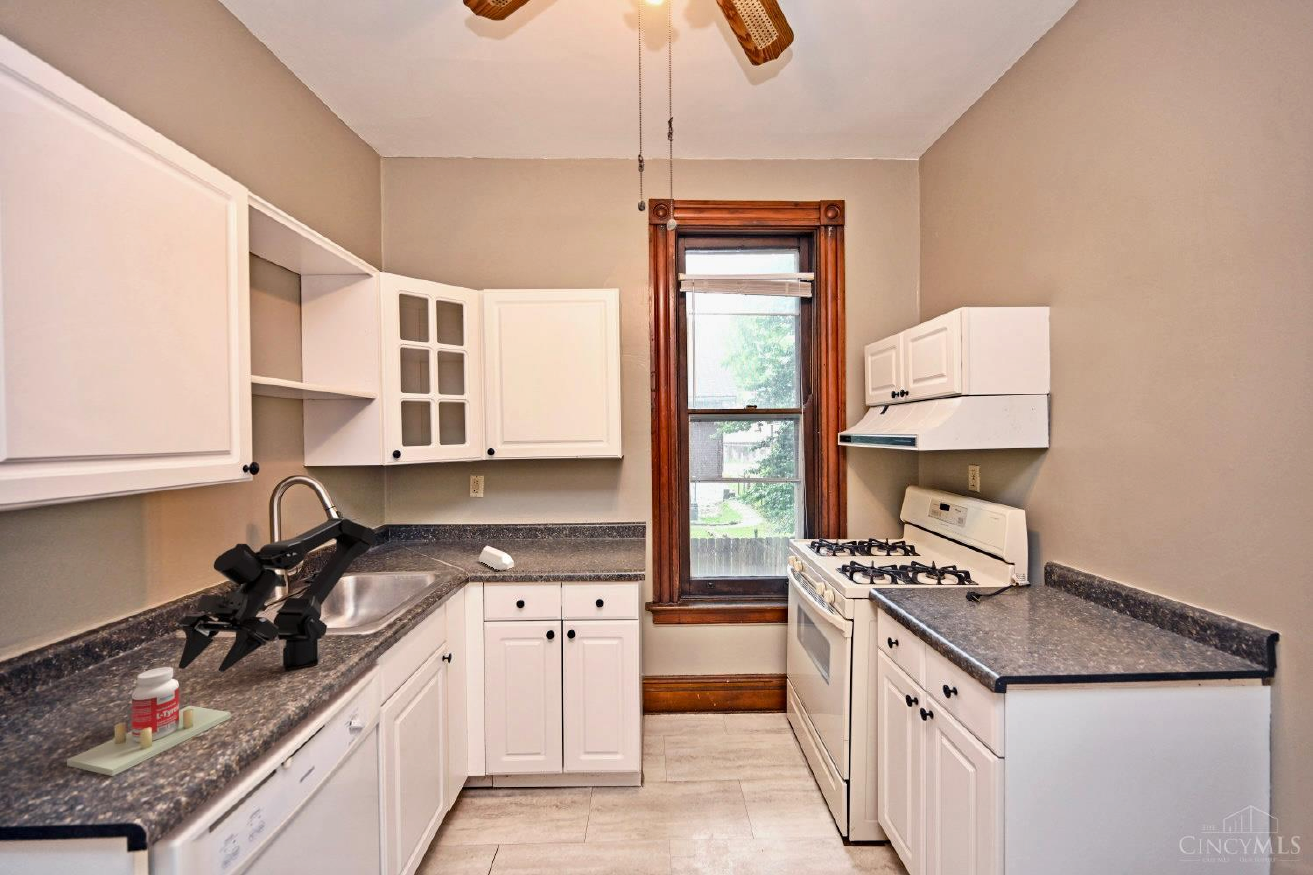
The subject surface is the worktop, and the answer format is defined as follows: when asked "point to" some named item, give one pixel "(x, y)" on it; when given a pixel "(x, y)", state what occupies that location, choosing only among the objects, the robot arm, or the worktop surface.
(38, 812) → the worktop surface
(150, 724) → the pill bottle
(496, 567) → the white rounded log
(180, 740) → the standoff plate
